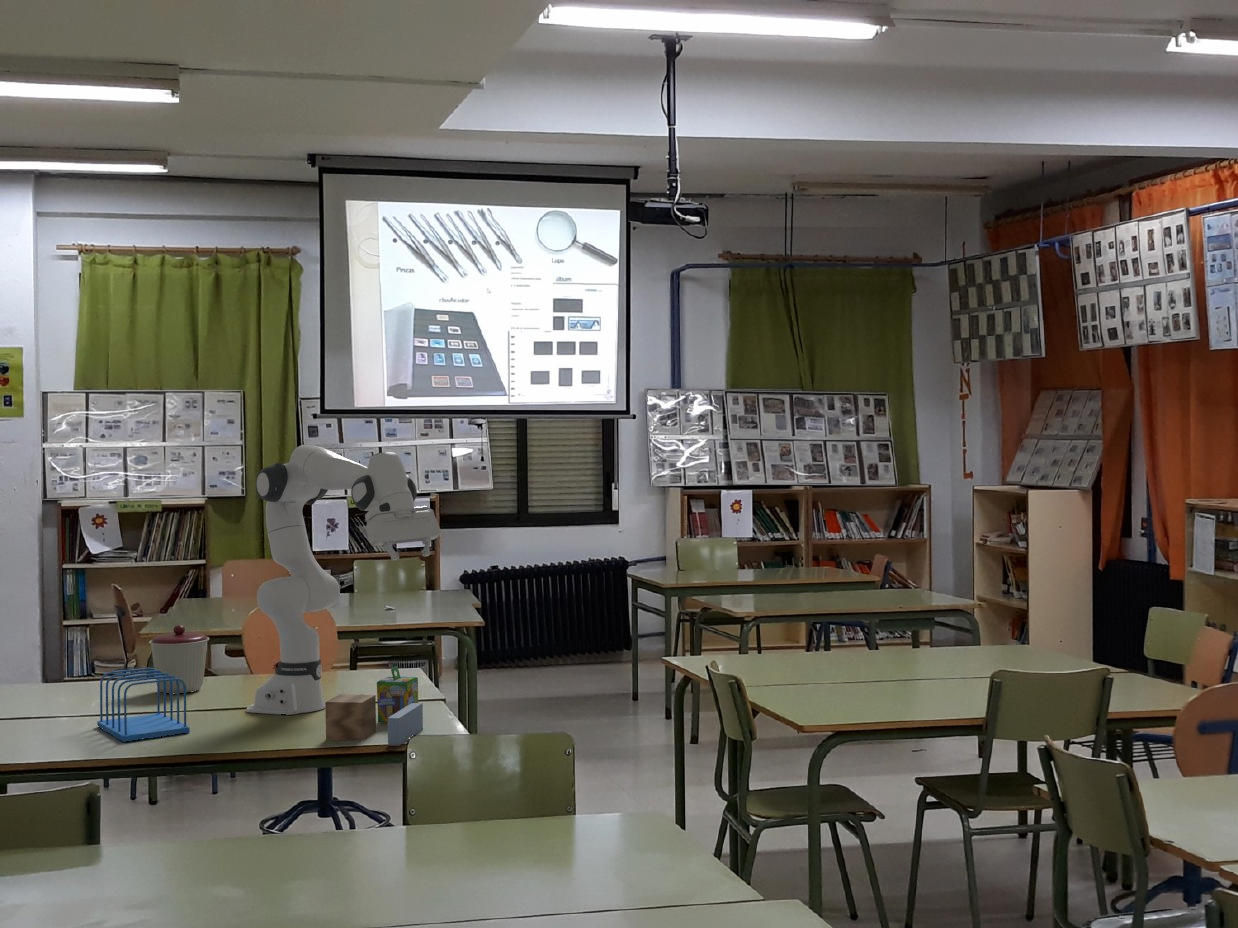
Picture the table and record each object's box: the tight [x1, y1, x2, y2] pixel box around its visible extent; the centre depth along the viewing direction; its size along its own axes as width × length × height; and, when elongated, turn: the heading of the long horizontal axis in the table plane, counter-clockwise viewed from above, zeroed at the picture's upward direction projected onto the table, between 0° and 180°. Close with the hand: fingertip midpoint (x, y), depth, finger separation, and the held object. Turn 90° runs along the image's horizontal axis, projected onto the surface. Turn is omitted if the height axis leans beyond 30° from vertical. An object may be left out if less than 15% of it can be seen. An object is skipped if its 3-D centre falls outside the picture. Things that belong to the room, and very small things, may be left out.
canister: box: [148, 624, 210, 694], centre depth 394 cm, size 18×18×21 cm
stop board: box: [387, 702, 424, 747], centre depth 326 cm, size 3×19×7 cm, turn 171°
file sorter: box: [96, 667, 191, 743], centre depth 338 cm, size 25×17×15 cm
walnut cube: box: [324, 693, 377, 742], centre depth 328 cm, size 10×10×10 cm
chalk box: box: [376, 665, 419, 724], centre depth 347 cm, size 9×9×15 cm
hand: (411, 557), depth 326 cm, fingers open, 8 cm apart
